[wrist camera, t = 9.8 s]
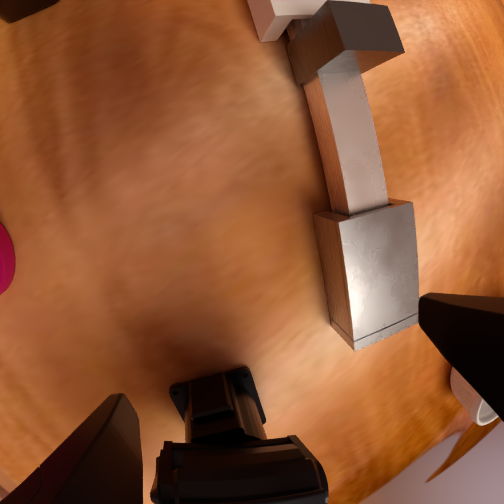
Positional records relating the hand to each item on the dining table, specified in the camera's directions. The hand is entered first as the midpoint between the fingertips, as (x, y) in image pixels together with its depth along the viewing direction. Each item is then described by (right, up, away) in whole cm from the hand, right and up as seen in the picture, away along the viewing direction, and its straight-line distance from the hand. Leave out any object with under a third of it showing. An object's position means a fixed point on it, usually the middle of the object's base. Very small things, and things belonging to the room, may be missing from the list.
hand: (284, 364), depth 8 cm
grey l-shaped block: (+4, +14, +11) cm, 18 cm away
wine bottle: (-18, +24, +5) cm, 30 cm away
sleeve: (+7, +3, +14) cm, 16 cm away
